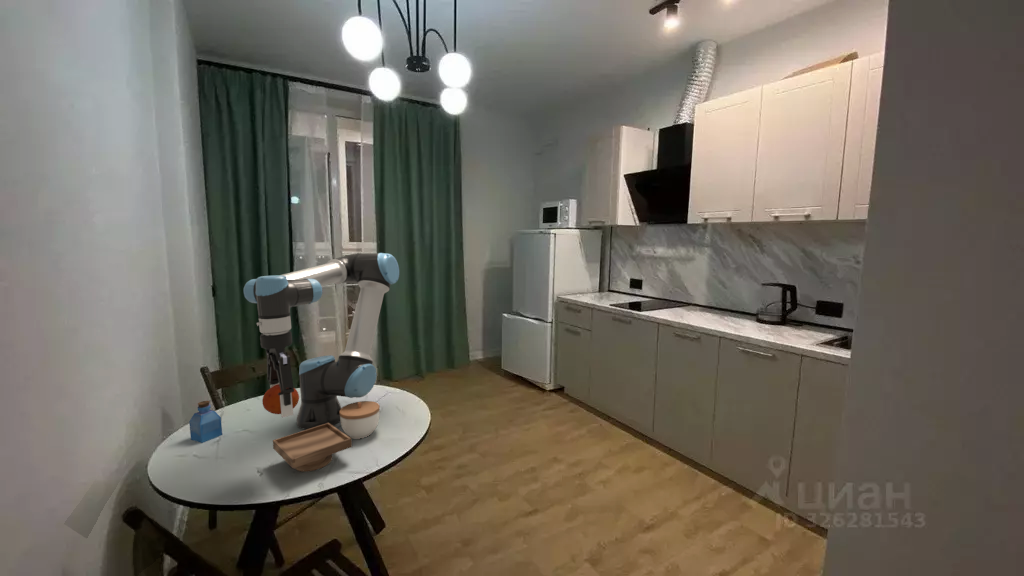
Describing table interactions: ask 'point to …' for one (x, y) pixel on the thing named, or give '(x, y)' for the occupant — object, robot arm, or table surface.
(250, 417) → the table surface
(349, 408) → the lidded bowl
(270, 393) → the fruit
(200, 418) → the perfume bottle
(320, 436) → the tray
